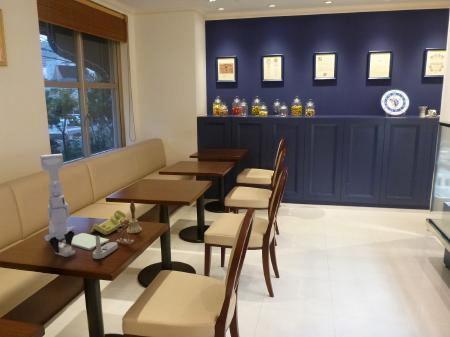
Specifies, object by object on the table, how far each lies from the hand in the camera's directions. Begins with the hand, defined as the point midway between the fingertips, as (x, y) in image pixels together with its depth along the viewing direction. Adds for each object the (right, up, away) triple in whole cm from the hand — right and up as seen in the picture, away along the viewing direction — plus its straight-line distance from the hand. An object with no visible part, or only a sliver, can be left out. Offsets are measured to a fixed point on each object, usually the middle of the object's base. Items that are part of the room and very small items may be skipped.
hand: (63, 250), depth 172 cm
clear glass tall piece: (+26, +1, +11) cm, 28 cm away
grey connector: (+1, -2, 0) cm, 2 cm away
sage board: (+6, +1, +13) cm, 14 cm away
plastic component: (+13, +5, +31) cm, 34 cm away
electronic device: (+20, -2, 0) cm, 20 cm away
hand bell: (+26, +4, +27) cm, 38 cm away
